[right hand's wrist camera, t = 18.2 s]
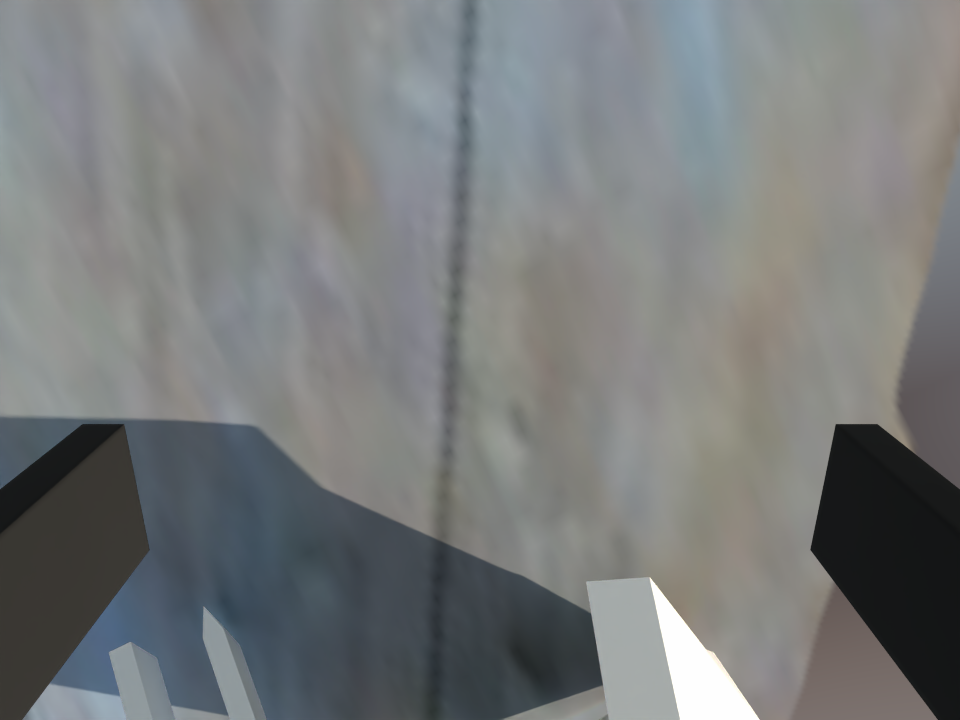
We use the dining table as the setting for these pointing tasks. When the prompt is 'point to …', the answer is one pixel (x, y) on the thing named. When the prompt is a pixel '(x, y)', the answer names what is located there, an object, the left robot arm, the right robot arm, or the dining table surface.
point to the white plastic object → (620, 644)
